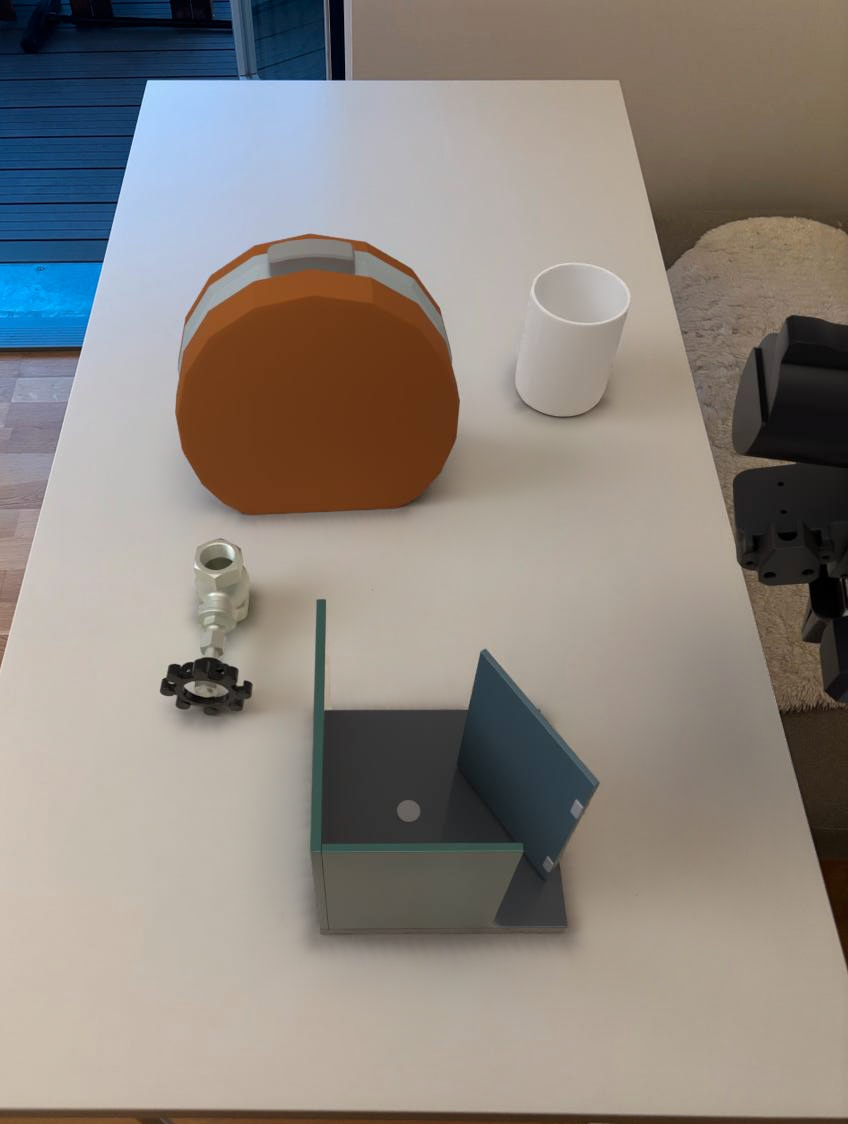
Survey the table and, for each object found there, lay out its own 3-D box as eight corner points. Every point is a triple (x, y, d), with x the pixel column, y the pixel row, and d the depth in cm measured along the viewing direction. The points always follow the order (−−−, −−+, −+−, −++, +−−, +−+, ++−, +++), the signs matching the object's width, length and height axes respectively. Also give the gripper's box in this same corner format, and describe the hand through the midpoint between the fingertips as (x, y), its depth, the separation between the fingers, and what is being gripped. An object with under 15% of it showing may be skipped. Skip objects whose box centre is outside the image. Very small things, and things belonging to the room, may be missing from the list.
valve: (190, 585, 75) (167, 714, 68) (177, 533, 69) (150, 668, 63) (271, 588, 75) (255, 717, 68) (264, 536, 69) (246, 672, 63)
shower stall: (537, 716, 68) (578, 598, 56) (564, 932, 60) (620, 851, 47) (323, 717, 68) (316, 598, 56) (319, 934, 60) (309, 852, 47)
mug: (582, 333, 92) (607, 236, 84) (613, 416, 86) (642, 321, 77) (499, 339, 92) (514, 242, 83) (523, 423, 85) (543, 327, 76)
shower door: (476, 752, 65) (504, 637, 52) (565, 866, 61) (620, 769, 48) (454, 765, 64) (478, 651, 52) (543, 881, 60) (593, 787, 47)
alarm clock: (437, 425, 85) (460, 193, 66) (449, 505, 80) (479, 278, 61) (198, 435, 84) (152, 202, 65) (195, 517, 79) (143, 290, 60)
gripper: (761, 325, 51) (678, 511, 64) (790, 593, 41) (684, 749, 54) (969, 348, 50) (841, 532, 63) (1051, 628, 40) (879, 778, 53)
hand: (809, 638), depth 58 cm, fingers closed
